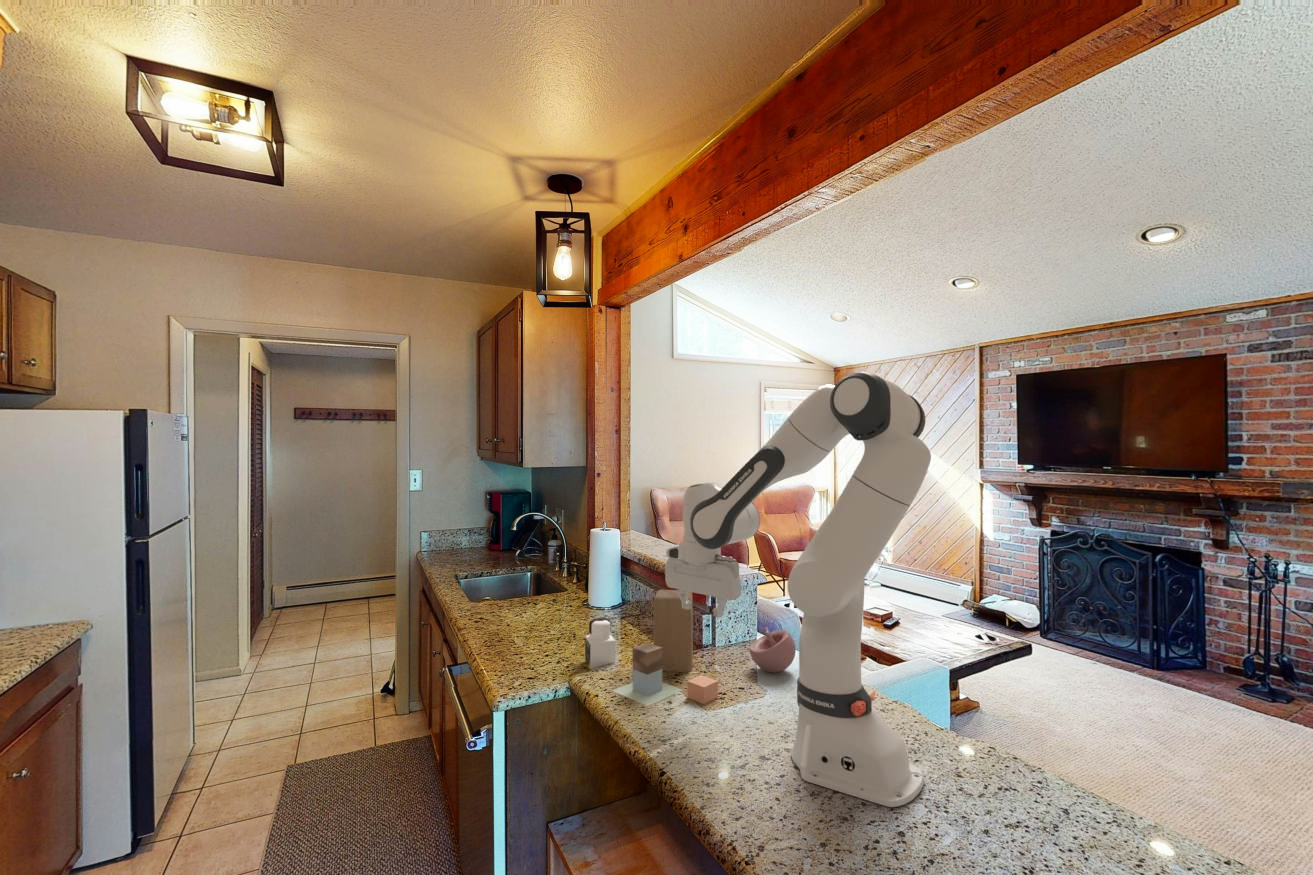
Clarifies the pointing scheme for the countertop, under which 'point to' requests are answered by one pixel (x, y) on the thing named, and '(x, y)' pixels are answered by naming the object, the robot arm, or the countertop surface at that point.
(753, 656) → the mortar and pestle
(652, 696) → the plate
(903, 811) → the countertop surface
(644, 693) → the brick
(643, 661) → the brick
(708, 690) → the brick
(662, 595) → the block
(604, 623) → the medicine bottle
